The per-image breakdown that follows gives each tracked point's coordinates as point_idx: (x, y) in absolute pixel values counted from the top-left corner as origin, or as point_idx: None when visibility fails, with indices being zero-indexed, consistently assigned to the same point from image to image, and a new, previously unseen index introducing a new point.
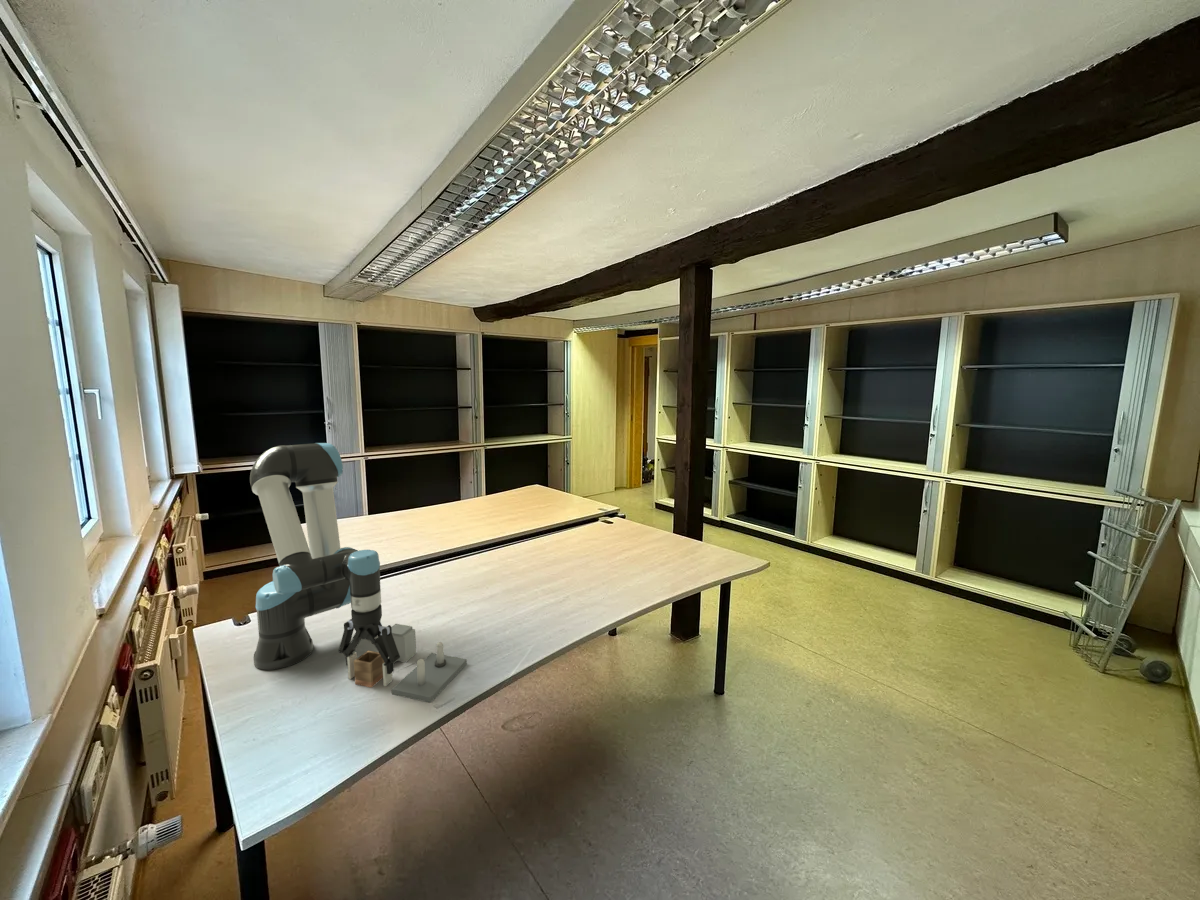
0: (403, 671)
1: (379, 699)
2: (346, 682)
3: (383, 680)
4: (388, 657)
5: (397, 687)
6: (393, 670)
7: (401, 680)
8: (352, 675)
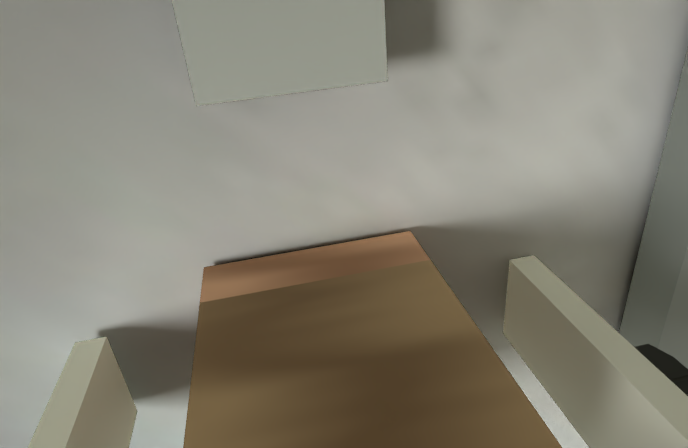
0: (536, 75)
1: (549, 406)
2: (134, 428)
3: (534, 371)
4: (233, 6)
5: (682, 352)
6: (660, 351)
7: (677, 282)
8: (124, 410)
